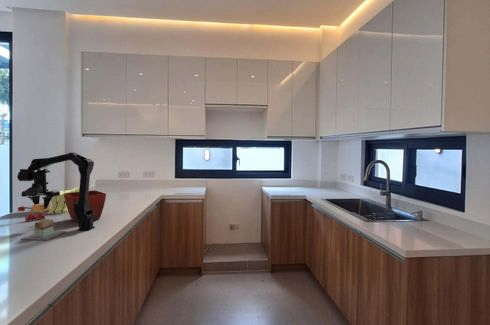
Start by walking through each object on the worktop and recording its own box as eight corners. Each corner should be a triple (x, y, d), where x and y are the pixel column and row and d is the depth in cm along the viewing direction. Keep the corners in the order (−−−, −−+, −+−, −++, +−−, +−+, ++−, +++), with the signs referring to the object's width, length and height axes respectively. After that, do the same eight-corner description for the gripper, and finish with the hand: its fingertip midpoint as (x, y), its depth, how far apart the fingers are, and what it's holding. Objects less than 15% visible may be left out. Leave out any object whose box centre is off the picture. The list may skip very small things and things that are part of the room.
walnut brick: (53, 226, 158) (53, 219, 157) (43, 230, 151) (43, 223, 151) (45, 225, 158) (45, 219, 158) (34, 229, 151) (34, 222, 151)
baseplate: (66, 232, 161) (66, 224, 161) (47, 240, 147) (47, 232, 147) (41, 231, 162) (41, 223, 162) (20, 239, 148) (20, 231, 148)
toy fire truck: (45, 219, 189) (45, 204, 188) (19, 223, 178) (18, 207, 178) (44, 218, 191) (43, 203, 190) (17, 222, 180) (17, 206, 180)
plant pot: (107, 219, 189) (106, 193, 188) (74, 225, 175) (73, 197, 174) (95, 214, 202) (94, 190, 201) (63, 219, 188) (63, 193, 187)
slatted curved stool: (84, 206, 226) (84, 183, 225) (82, 211, 211) (81, 186, 210) (37, 210, 214) (37, 185, 213) (32, 214, 199) (31, 188, 198)
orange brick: (50, 209, 169) (49, 203, 169) (39, 212, 162) (39, 205, 162) (43, 209, 170) (43, 202, 169) (32, 211, 163) (32, 205, 163)
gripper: (12, 182, 158) (13, 211, 158) (44, 183, 156) (46, 212, 157) (29, 180, 169) (30, 207, 170) (59, 180, 167) (61, 207, 168)
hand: (41, 208), depth 166 cm, fingers closed on orange brick, 5 cm apart
